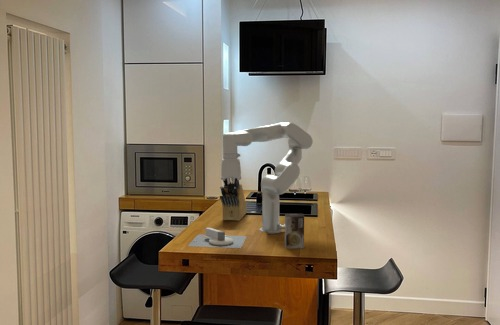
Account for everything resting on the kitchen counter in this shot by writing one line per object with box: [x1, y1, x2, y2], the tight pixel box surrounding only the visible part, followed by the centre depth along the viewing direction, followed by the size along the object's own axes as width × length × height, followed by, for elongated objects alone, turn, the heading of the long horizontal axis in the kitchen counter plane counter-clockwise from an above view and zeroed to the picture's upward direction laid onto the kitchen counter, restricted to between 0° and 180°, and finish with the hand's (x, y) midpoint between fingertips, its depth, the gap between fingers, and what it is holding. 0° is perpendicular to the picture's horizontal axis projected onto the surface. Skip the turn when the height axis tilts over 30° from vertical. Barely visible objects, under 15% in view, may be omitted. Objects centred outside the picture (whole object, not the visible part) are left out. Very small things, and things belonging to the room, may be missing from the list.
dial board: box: [187, 234, 248, 249], centre depth 255 cm, size 26×24×2 cm
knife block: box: [219, 178, 248, 222], centre depth 316 cm, size 11×35×31 cm, turn 170°
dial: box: [204, 227, 233, 245], centre depth 254 cm, size 18×12×5 cm, turn 40°
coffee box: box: [284, 213, 305, 249], centre depth 250 cm, size 9×6×16 cm
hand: (231, 190), depth 269 cm, fingers closed
